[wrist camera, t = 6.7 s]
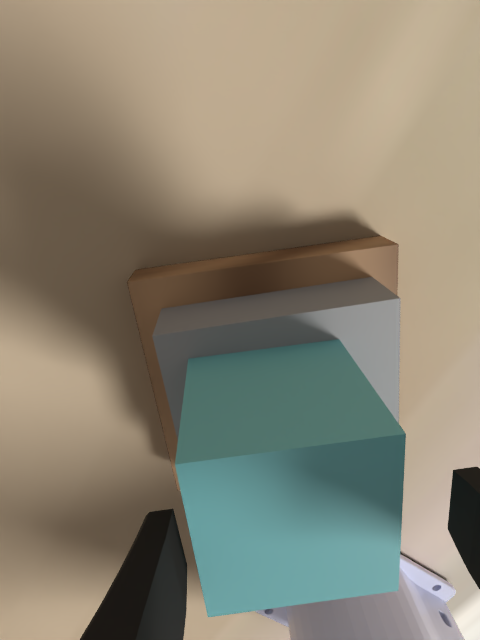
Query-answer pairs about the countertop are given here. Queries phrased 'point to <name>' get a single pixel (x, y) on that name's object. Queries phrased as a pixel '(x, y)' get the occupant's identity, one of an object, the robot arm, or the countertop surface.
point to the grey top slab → (286, 331)
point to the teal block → (289, 478)
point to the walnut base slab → (248, 289)
